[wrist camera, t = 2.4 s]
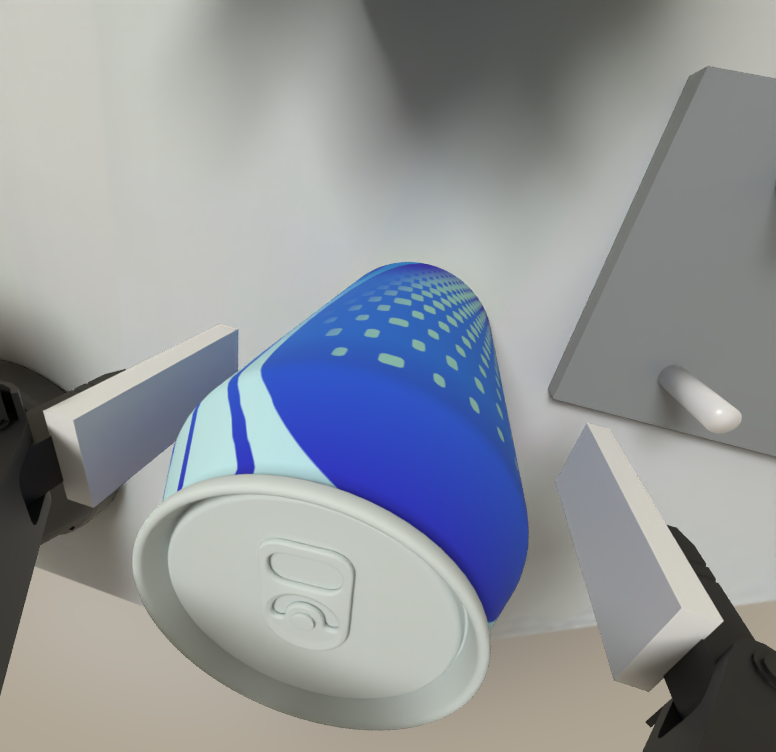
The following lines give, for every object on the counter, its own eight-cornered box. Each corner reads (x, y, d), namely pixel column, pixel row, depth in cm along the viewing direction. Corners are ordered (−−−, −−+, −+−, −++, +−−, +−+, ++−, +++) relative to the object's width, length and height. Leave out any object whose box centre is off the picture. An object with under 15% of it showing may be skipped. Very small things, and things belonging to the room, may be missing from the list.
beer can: (523, 344, 20) (668, 708, 6) (408, 425, 23) (321, 777, 9) (416, 221, 18) (248, 299, 4) (310, 329, 22) (22, 573, 8)
